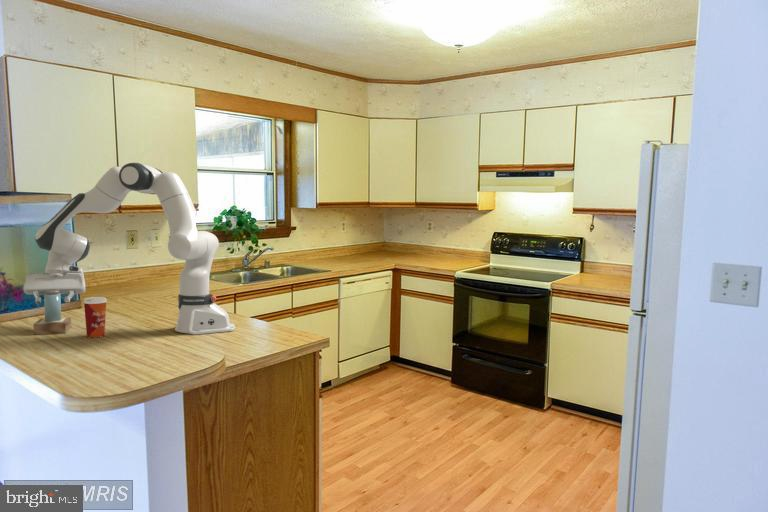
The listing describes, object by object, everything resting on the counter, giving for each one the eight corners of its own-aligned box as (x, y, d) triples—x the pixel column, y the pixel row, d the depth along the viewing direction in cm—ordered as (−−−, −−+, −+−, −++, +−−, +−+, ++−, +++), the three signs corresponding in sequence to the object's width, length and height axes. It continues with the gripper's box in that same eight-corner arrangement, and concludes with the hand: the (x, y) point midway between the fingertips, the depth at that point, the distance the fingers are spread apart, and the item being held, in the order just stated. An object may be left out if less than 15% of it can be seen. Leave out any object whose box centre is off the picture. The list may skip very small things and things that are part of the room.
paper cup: (97, 339, 184) (96, 300, 182) (78, 337, 185) (77, 299, 184) (112, 334, 191) (112, 297, 190) (94, 332, 193) (94, 296, 192)
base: (71, 327, 200) (70, 317, 200) (65, 333, 191) (65, 322, 190) (41, 328, 196) (40, 318, 196) (33, 334, 187) (33, 323, 187)
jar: (62, 318, 197) (62, 289, 196) (59, 321, 192) (58, 291, 191) (46, 319, 195) (46, 289, 194) (43, 321, 190) (42, 291, 189)
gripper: (25, 268, 196) (17, 297, 187) (86, 267, 203) (81, 296, 195) (28, 278, 200) (21, 307, 192) (88, 277, 208) (84, 305, 199)
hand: (52, 301), depth 193 cm, fingers open, 8 cm apart
